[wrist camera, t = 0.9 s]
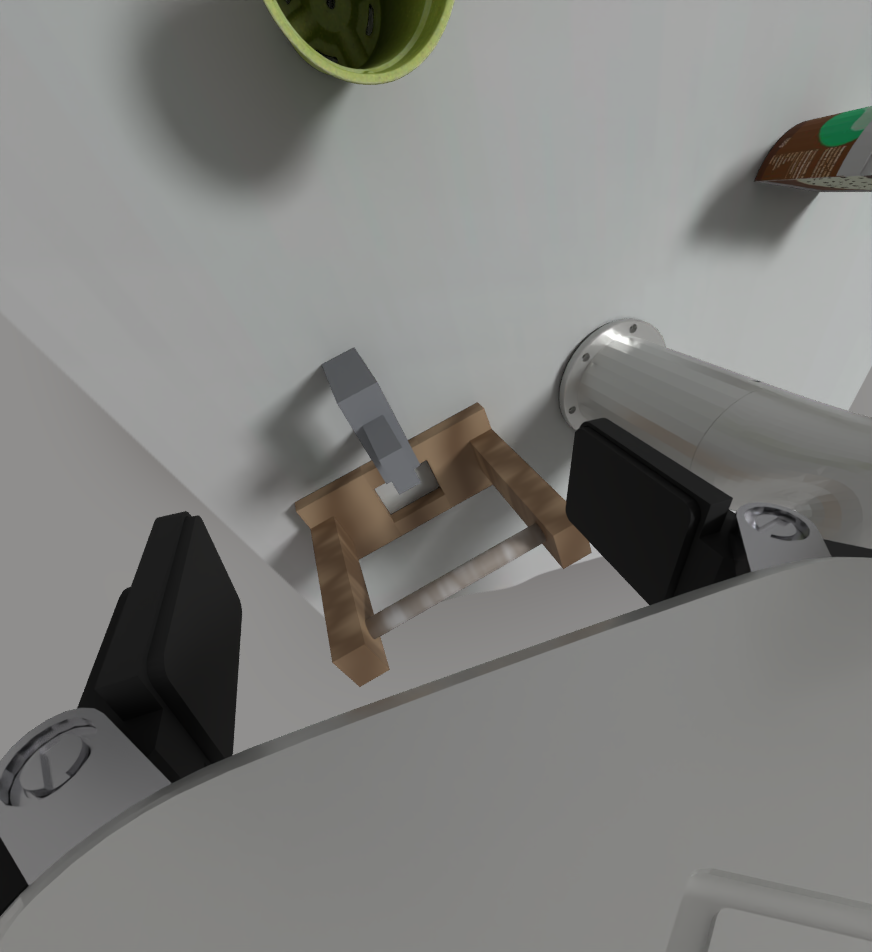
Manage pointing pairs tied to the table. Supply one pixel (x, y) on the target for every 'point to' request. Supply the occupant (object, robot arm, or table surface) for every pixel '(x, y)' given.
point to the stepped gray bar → (372, 419)
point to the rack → (371, 526)
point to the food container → (824, 154)
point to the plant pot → (363, 35)
